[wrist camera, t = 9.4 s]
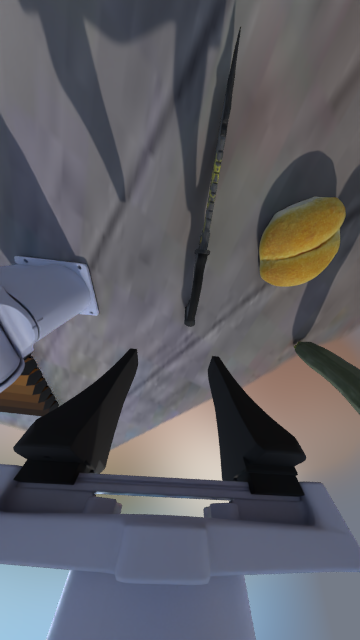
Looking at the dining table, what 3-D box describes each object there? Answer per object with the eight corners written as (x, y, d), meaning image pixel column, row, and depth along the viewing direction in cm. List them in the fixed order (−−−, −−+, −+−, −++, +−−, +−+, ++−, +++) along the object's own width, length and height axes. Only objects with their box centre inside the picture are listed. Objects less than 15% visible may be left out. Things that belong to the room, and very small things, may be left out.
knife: (216, 89, 12) (237, -16, 8) (232, 91, 12) (263, -10, 8) (184, 317, 22) (184, 332, 17) (193, 318, 22) (196, 333, 17)
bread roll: (258, 290, 19) (274, 301, 16) (253, 220, 15) (273, 214, 12) (321, 270, 18) (354, 277, 14) (336, 185, 14) (388, 166, 10)
